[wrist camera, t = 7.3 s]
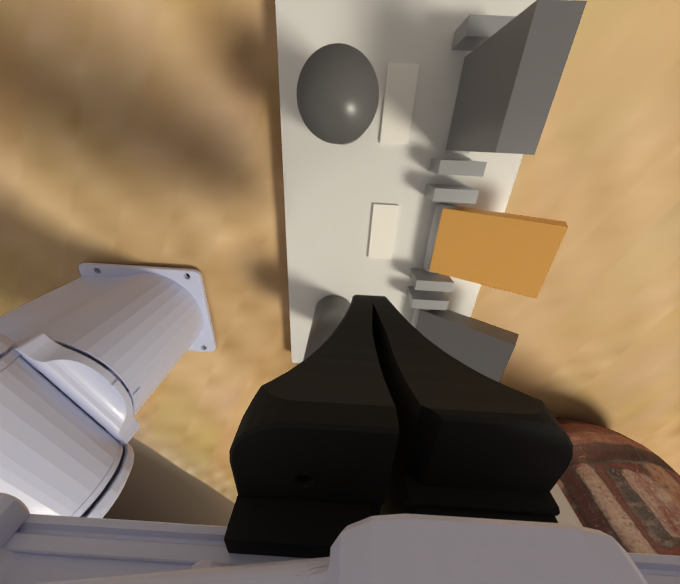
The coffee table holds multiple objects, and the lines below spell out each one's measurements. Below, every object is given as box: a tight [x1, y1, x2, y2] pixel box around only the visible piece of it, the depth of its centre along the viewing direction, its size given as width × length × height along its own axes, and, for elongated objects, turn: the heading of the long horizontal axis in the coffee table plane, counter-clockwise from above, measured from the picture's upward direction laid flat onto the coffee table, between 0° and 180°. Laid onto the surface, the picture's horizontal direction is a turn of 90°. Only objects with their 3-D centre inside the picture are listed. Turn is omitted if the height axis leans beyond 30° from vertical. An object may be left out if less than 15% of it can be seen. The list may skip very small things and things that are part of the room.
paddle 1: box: [446, 0, 587, 155], centre depth 12 cm, size 1×4×7 cm, turn 177°
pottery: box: [556, 418, 680, 556], centre depth 22 cm, size 18×18×18 cm
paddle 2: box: [411, 308, 519, 382], centre depth 19 cm, size 1×4×7 cm
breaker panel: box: [275, 0, 536, 363], centre depth 16 cm, size 14×24×7 cm, turn 177°
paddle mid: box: [423, 203, 568, 298], centre depth 16 cm, size 1×4×7 cm
